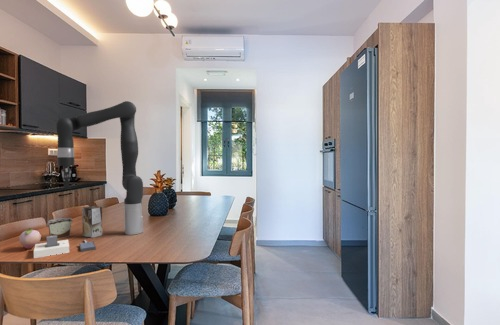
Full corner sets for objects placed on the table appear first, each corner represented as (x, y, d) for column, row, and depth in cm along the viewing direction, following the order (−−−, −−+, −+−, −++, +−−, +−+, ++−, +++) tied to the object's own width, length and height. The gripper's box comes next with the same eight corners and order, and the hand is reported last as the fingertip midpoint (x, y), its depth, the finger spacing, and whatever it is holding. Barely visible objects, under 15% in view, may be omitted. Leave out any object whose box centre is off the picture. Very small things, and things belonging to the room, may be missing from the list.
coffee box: (103, 235, 160) (102, 206, 160) (92, 238, 154) (91, 208, 154) (92, 233, 164) (92, 205, 164) (81, 236, 159) (81, 207, 158)
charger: (57, 249, 135) (56, 234, 135) (57, 251, 131) (57, 236, 131) (46, 251, 132) (46, 236, 132) (46, 253, 129) (46, 238, 129)
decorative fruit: (42, 248, 136) (42, 228, 136) (20, 252, 131) (20, 231, 130) (39, 244, 143) (39, 224, 143) (18, 248, 137) (18, 227, 137)
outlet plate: (68, 245, 141) (68, 239, 141) (69, 252, 130) (69, 245, 130) (35, 250, 134) (35, 244, 133) (33, 258, 123) (33, 251, 123)
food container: (67, 234, 163) (66, 216, 163) (72, 235, 160) (72, 217, 159) (42, 239, 152) (42, 221, 152) (48, 241, 149) (47, 222, 149)
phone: (91, 239, 150) (91, 237, 150) (95, 249, 134) (95, 246, 134) (78, 241, 147) (78, 239, 147) (81, 251, 131) (81, 249, 131)
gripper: (75, 156, 145) (75, 188, 145) (73, 156, 157) (74, 186, 157) (57, 156, 141) (58, 189, 141) (57, 156, 152) (57, 187, 153)
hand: (66, 187), depth 149 cm, fingers open, 8 cm apart
